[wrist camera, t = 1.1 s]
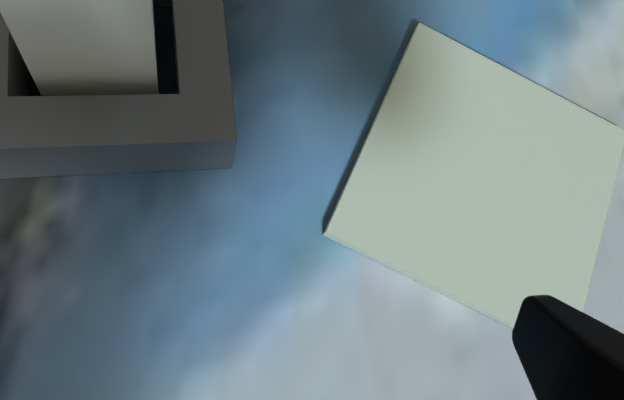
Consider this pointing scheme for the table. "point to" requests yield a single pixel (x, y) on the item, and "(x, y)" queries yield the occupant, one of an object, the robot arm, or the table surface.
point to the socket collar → (126, 111)
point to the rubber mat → (479, 182)
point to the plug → (86, 45)
